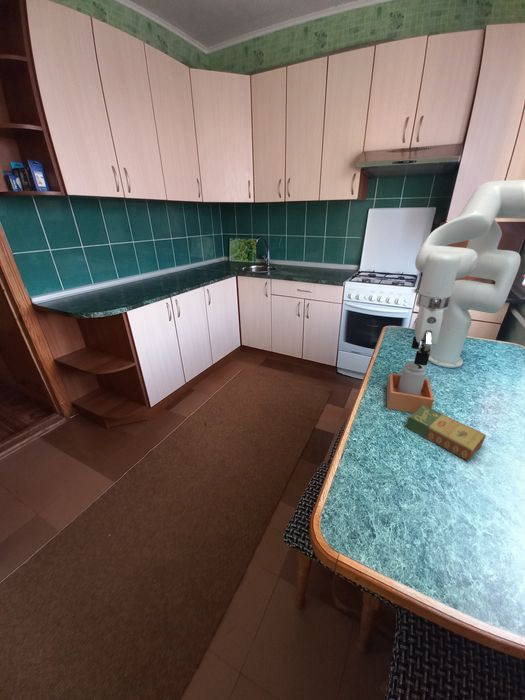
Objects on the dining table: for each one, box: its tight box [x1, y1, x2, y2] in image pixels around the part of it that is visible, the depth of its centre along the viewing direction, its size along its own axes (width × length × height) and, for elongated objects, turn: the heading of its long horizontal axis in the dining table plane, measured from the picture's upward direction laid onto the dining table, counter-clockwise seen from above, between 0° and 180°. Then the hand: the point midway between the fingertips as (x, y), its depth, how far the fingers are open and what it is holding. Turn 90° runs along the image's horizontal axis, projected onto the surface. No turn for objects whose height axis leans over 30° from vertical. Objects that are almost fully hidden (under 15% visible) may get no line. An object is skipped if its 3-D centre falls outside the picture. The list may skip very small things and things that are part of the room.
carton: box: [406, 405, 486, 462], centre depth 77 cm, size 8×16×4 cm, turn 38°
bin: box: [386, 372, 435, 414], centre depth 91 cm, size 12×12×6 cm
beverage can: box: [397, 361, 427, 396], centre depth 89 cm, size 6×6×12 cm
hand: (418, 356), depth 85 cm, fingers open, 9 cm apart
